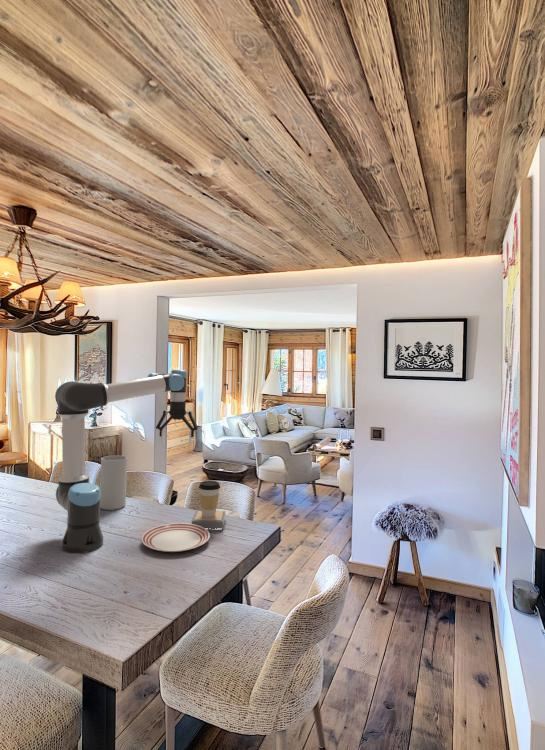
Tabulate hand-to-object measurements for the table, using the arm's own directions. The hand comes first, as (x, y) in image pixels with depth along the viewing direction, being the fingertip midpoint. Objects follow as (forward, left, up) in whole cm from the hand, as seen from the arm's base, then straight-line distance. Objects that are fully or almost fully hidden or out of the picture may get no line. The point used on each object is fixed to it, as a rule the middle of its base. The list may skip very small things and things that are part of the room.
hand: (176, 443), depth 206 cm
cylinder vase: (+8, +33, -35) cm, 49 cm away
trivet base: (-14, -19, -35) cm, 42 cm away
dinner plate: (-35, -8, -35) cm, 50 cm away
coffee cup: (-14, -19, -31) cm, 38 cm away
